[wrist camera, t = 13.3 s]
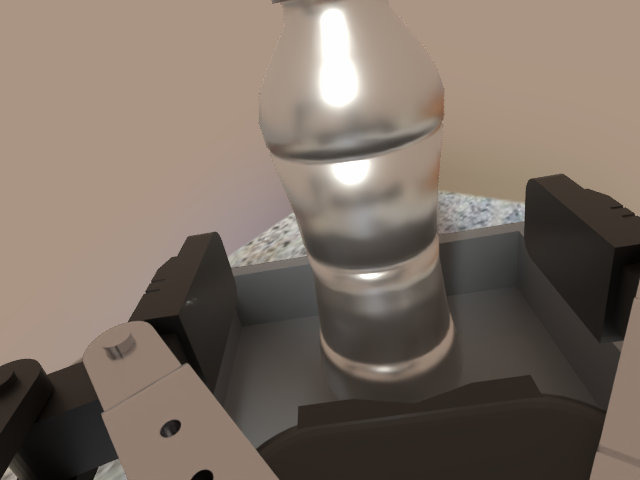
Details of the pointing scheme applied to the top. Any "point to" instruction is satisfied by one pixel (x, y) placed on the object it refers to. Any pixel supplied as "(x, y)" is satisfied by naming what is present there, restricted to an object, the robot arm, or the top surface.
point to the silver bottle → (365, 193)
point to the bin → (464, 305)
